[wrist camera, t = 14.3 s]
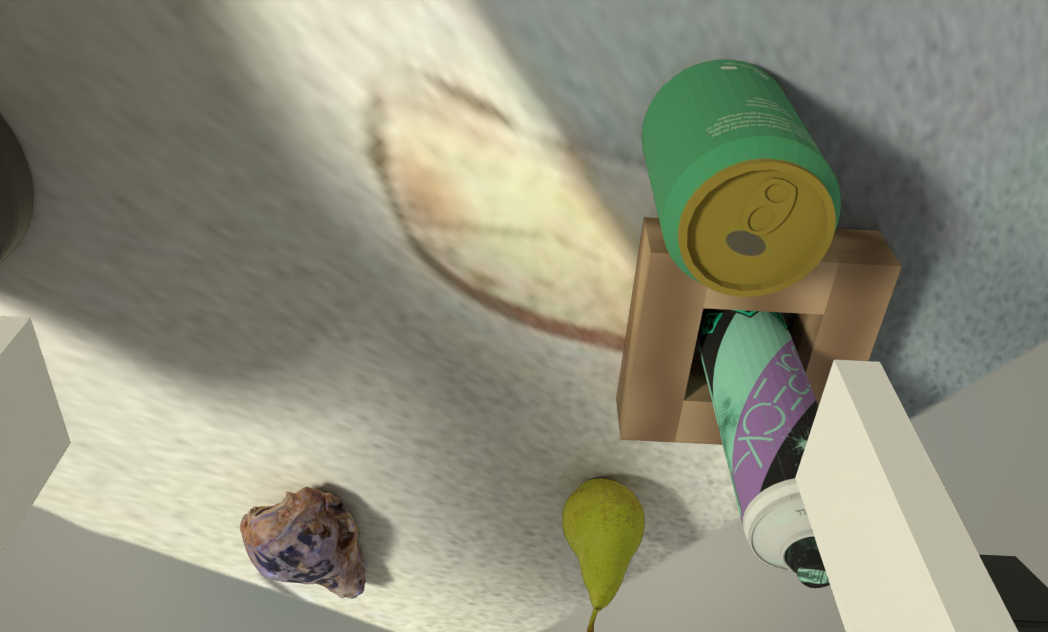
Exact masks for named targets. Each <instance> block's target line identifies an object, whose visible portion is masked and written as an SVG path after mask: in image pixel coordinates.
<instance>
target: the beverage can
mask: <svg viewBox="0 0 1048 632" xmlns="http://www.w3.org/2000/svg"><path fill="white" fill-rule="evenodd" d="M642 147H643V152H644V156H645V161H646V165H647V169H648V174H649V178H650V182H651V187H652V191H653V195H654V200H655V204H656V208H657V213H658V217H659V221H660V226H661V230H662V234H663V238H664V242H665V245H666V248H667V250H668V252H669V254H670V256H671V258H672V260H673V261H674V262H675V264H676V265H677V266H678V267H679V268H680V269H681V270H682V271H683V272H684V273H685V274H686V275H687V276H689V277H690V278H692V279H693V280H695V281H696V282H698V283H701V284H703V285H705V286H706V287H708V288H710V289H712V290H714V291H716V292H719V293H722V294H726V295H730V296H737V297H756V296H763V295H767V294H771V293H775V292H778V291H780V290H783V289H785V288H788V287H789V286H791V285H793V284H795V283H797V282H798V281H800V280H801V279H803V278H804V277H805V276H807V275H808V274H809V273H810V272H811V271H812V270H813V269H814V268H815V267H816V266H817V265H818V264H819V262H820V261H821V260H822V259H823V257H824V256H825V254H826V252H827V251H828V249H829V247H830V244H831V242H832V239H833V235H834V233H835V230H836V228H837V225H838V222H839V217H840V213H841V195H840V189H839V185H838V182H837V180H836V177H835V175H834V173H833V171H832V170H831V168H830V166H829V165H828V163H827V161H826V160H825V158H824V157H823V155H822V153H821V152H820V150H819V149H818V147H817V145H816V144H815V142H814V140H813V139H812V137H811V136H810V134H809V132H808V131H807V129H806V127H805V126H804V124H803V123H802V121H801V119H800V118H799V116H798V114H797V113H796V111H795V110H794V108H793V106H792V105H791V103H790V101H789V100H788V98H787V97H786V95H785V93H784V92H783V90H782V88H781V87H780V85H779V84H778V83H777V82H776V81H775V80H774V79H773V77H771V76H770V75H769V74H768V73H766V72H765V71H764V70H762V69H760V68H758V67H756V66H754V65H752V64H749V63H746V62H742V61H736V60H714V61H708V62H704V63H701V64H697V65H694V66H692V67H690V68H688V69H686V70H684V71H682V72H681V73H679V74H678V75H676V76H675V77H673V78H672V79H671V80H670V81H668V82H667V83H666V84H665V85H664V86H663V87H662V88H661V90H660V91H659V92H658V93H657V94H656V96H655V97H654V99H653V100H652V102H651V104H650V105H649V108H648V110H647V113H646V115H645V118H644V122H643V127H642Z"/></svg>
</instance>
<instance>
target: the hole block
mask: <svg viewBox="0 0 1048 632" xmlns="http://www.w3.org/2000/svg"><path fill="white" fill-rule="evenodd" d="M901 267H902V266H901V264H900V263H899V261H898V260H897V258H896V256H895V255H894V253H893V252H892V250H891V249H890V247H889V245H888V244H887V242H886V241H885V239H884V238H883V236H882V234H881V233H880V231H876V230H858V229H840V228H836V230H835V233H834V235H833V239H832V242H831V244H830V247H829V249H828V251H827V252H826V254H825V256H824V257H823V259H822V260H821V261H820V262H819V264H818V265H817V266H816V267H815V268H814V269H813V270H812V271H811V272H810V273H809V274H808V275H807V276H805V277H804V278H803V279H801V280H800V281H798V282H797V283H795V284H793V285H791V286H789V287H788V288H785V289H783V290H780V291H778V292H775V293H771V294H767V295H763V296H756V297H737V296H730V295H726V294H722V293H719V292H716V291H714V290H712V289H710V288H708V287H706V286H705V285H703V284H701V283H698V282H696V281H695V280H693V279H692V278H690V277H689V276H687V275H686V274H685V273H684V272H683V271H682V270H681V269H680V268H679V267H678V266H677V265H676V264H675V262H674V261H673V260H672V258H671V256H670V254H669V252H668V250H667V248H666V245H665V242H664V238H663V234H662V230H661V226H660V221H659V218H644V220H643V226H642V233H641V240H640V246H639V253H638V259H637V266H636V272H635V279H634V285H633V292H632V299H631V305H630V312H629V318H628V325H627V331H626V338H625V344H624V351H623V358H622V364H621V371H620V377H619V384H618V390H617V397H616V402H617V411H618V420H619V428H620V437H621V440H640V441H660V442H680V443H700V444H720V445H723V444H722V440H721V436H720V432H719V428H718V424H717V420H716V416H715V412H714V408H713V403H712V399H711V395H710V391H709V387H708V383H707V379H706V375H705V371H704V367H703V363H702V362H692V359H693V354H694V349H695V344H696V340H697V335H698V330H699V325H700V321H701V316H702V311H703V308H709V309H728V310H747V311H766V312H784V313H796V316H795V319H794V323H793V326H792V330H791V333H790V335H791V338H792V340H793V343H794V345H795V348H796V350H797V353H798V355H799V358H800V361H801V363H802V366H803V368H804V371H805V373H806V376H807V378H808V381H809V383H810V386H811V388H812V391H813V393H814V396H815V398H816V401H817V403H818V406H819V404H820V401H821V398H822V395H823V392H824V389H825V386H826V383H827V380H828V377H829V373H830V370H831V367H832V364H833V361H834V360H852V361H868V360H869V358H870V355H871V352H872V349H873V346H874V344H875V341H876V338H877V335H878V332H879V329H880V327H881V324H882V321H883V318H884V315H885V313H886V310H887V307H888V304H889V301H890V298H891V296H892V293H893V290H894V287H895V284H896V282H897V279H898V276H899V273H900V270H901Z"/></svg>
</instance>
